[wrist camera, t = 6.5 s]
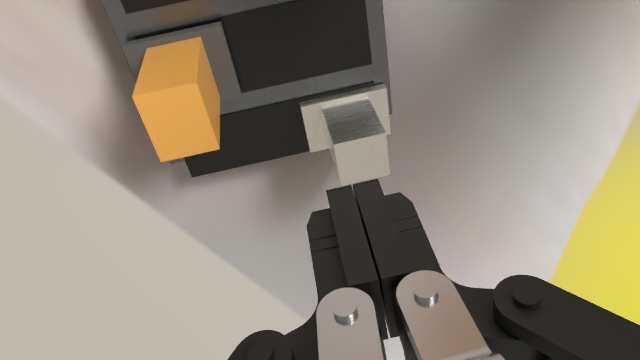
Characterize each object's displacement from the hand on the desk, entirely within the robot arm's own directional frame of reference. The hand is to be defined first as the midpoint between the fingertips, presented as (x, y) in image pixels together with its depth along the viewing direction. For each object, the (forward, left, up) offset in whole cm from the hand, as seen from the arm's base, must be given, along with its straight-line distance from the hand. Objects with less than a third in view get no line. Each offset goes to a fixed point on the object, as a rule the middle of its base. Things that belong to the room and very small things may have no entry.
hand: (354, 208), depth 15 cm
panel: (+2, 0, -14) cm, 14 cm away
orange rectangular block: (+5, 0, -12) cm, 13 cm away
